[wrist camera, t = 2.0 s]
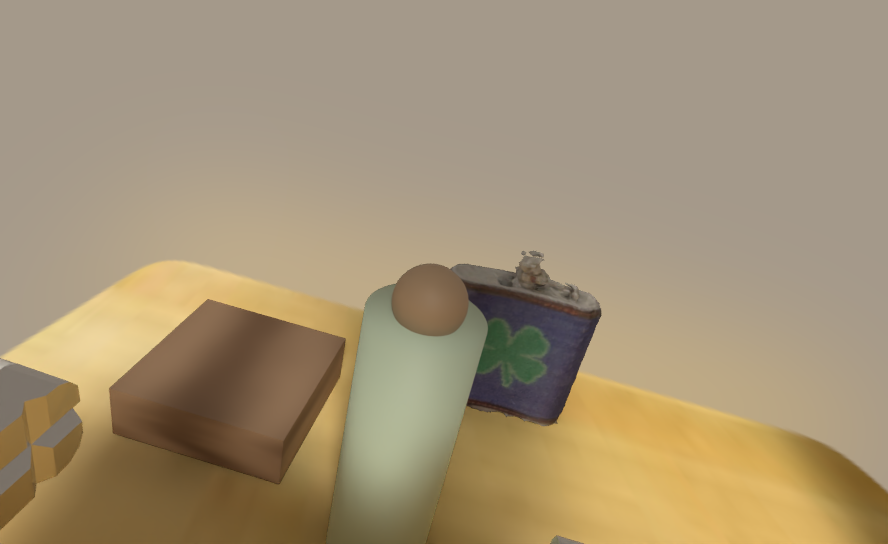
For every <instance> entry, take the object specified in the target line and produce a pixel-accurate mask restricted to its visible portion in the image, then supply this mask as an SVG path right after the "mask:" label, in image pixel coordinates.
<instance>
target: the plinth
mask: <svg viewBox="0 0 888 544" xmlns="http://www.w3.org/2000/svg"><path fill="white" fill-rule="evenodd" d="M345 340H346V339H345V338H342V337H338V336H335V335H331V334H328V333H324V332H321V331H317V330H314V329H310V328H307V327H303V326H300V325H296V324H293V323H289V322H286V321H282V320H279V319H276V318H272V317H269V316H265V315H262V314H258V313H255V312H251V311H248V310H244V309H241V308H237V307H234V306H230V305H227V304H223V303H220V302H216V301H213V300H209V299H207V300H206V301H205V302H204V303H203V304H202V305H201V306H200V307H199V308H197V309H196V310H195V311H194V312H193V313H192V314H191V315H190V316H189V317H187V318H186V319H185V320H184V321H183V322H182V323H181V324H180V325H179V326H178V327H176V328H175V329H174V330H173V331H172V332H171V333H170V334H169V335H168V336H166V337H165V338H164V339H163V340H162V341H161V342H160V343H159V344H158V345H157V346H155V347H154V348H153V349H152V350H151V351H150V352H149V353H148V354H147V355H145V356H144V357H143V358H142V359H141V360H140V361H139V362H138V363H137V364H135V365H134V366H133V367H132V368H131V369H130V370H129V371H128V372H127V373H126V374H124V375H123V376H122V377H121V378H120V379H119V380H118V381H117V382H116V383H114V384H113V385H112V386H111V387H110V388H109V392H110V404H111V415H112V427H113V433H114V434H117V435H121V436H124V437H127V438H131V439H134V440H137V441H140V442H144V443H147V444H150V445H153V446H157V447H160V448H163V449H166V450H170V451H173V452H176V453H179V454H183V455H186V456H189V457H192V458H196V459H199V460H202V461H205V462H209V463H212V464H215V465H218V466H222V467H225V468H228V469H232V470H235V471H238V472H241V473H245V474H248V475H251V476H254V477H258V478H261V479H264V480H267V481H271V482H274V483H277V484H279V483H280V482H281V480H282V478H283V476H284V475H285V473H286V471H287V469H288V467H289V466H290V464H291V462H292V460H293V459H294V457H295V455H296V453H297V452H298V450H299V448H300V446H301V445H302V443H303V441H304V439H305V437H306V436H307V434H308V432H309V430H310V429H311V427H312V425H313V423H314V422H315V420H316V418H317V416H318V415H319V413H320V411H321V409H322V407H323V406H324V404H325V402H326V400H327V399H328V397H329V395H330V393H331V392H332V390H333V388H334V386H335V385H336V383H337V381H338V379H339V377H340V373H341V367H342V360H343V354H344V347H345Z"/></svg>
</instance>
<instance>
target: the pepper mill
mask: <svg viewBox="0 0 888 544" xmlns="http://www.w3.org/2000/svg"><path fill="white" fill-rule="evenodd" d="M487 332H488V325H487V321H486V319H485V317H484V315H483V314H482V312H481V311H480V310H479V309H478V308H477V307H476V306H475V305H474V304H473V303H472V302H470V301H469V299H468V293H467V290H466V287H465V285H464V283H463V281H462V280H461V279H460V277H459V276H458V275H457V274H456V273H455V272H453V271H452V270H450V269H449V268H447V267H444V266H442V265H438V264H423V265H419V266H416V267H414V268H412V269H410V270H408V271H407V272H406V273H405V274H403V275H402V277H401V278H400V279H399V280H398V282H397V283H396V284H393V285H388V286H385V287H383V288H381V289H378V290H377V291H375V292H374V293H373V294H372V295H370V297H369V298H368V299H367V301H366V304H365V309H364V315H363V321H362V327H361V333H360V339H359V345H358V351H357V357H356V362H355V368H354V374H353V380H352V386H351V392H350V398H349V404H348V410H347V416H346V422H345V428H344V434H343V440H342V446H341V452H340V458H339V464H338V470H337V476H336V482H335V488H334V494H333V500H332V506H331V512H330V518H329V524H328V530H327V536H326V544H426V541H427V538H428V534H429V531H430V527H431V524H432V521H433V517H434V514H435V510H436V507H437V504H438V500H439V497H440V493H441V490H442V486H443V483H444V480H445V476H446V473H447V469H448V466H449V463H450V459H451V456H452V452H453V449H454V445H455V442H456V439H457V435H458V432H459V428H460V425H461V421H462V418H463V415H464V411H465V408H466V404H467V401H468V398H469V394H470V391H471V387H472V384H473V380H474V377H475V374H476V370H477V367H478V363H479V360H480V357H481V353H482V350H483V346H484V343H485V339H486V336H487Z"/></svg>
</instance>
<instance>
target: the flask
mask: <svg viewBox="0 0 888 544" xmlns="http://www.w3.org/2000/svg"><path fill="white" fill-rule="evenodd" d="M529 253H530V254H531V255H532V256H539V257H543V256H544V255H543V254H542V253H540V252H536V251H530V252H529ZM521 254H522V255H525V254H526V252H525V251H522V253H521ZM543 260H544V259H542V258H535V257H528V256H524V257H523V260H522V261H521V262H519V265H520V266H519V267H516V273H514V272H509V271H504V270H499V269H493V268H487V267H481V266H475V265H469V264H458V265H456V266H454V267H452V268H451V269H450V270H452V271H453V272H455V273H456V274H457V275H458V276H459V277H460V279H461V280H462V281H463V283H464V285H465V287H466V290H467V293H468V299H469V301H470V302H472V303H473V304H474V305H475V306H476V307H477V308H478V309H479V310H480V311H481V312H482V314H483V315H484V317H485V319H486V321H487V325H488V332H487V336H486V339H485V343H484V346H483V350H482V353H481V357H480V360H479V363H478V367H477V370H476V374H475V377H474V380H473V384H472V387H471V391H470V394H469V398H468V401H467V404H466V406H470V407H471V408H474V409H478V410H479V411H485V412H491V411H492V412H494V411H499V412H502V413H504V414H505V416H506V417H507V416H516V417H519V418H521V419H523V420H524V421H532V422H534V423H537V424H539V425H541V426H548V425H551V424H554V423H557V422H556V420H557V419H558V417H559V415H560V414H561V412H562V410H563V408H564V406H565V403H566V400H567V398H568V396H569V393H570V390H571V387H572V385H573V383H574V381H575V379H576V375H577V373H578V370H579V367H580V365H581V362H582V360H583V358H584V356H585V353H586V350H587V347H588V345H589V343H590V341H591V338H592V336H593V333H594V330H595V327H596V325H597V323H598V322H599V319H600V317H601V308H600V306H599V303H598V302H597V300H596V299H595V297H594V296H592V295H591V294H590V293H586V292H583V291H580V290H578V287H577V286H574V285H571V284H567V283H565V284H566V285H568V286H570V287H571V288H570V287H567V286H564V285H562V284H560V283H558V282H555V281H553V280H550V277H549V275H548V274H547V273H546V272H545V271H544V270H543V269H540V265H539V264H540V262H541V261H543Z"/></svg>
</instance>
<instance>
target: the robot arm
mask: <svg viewBox="0 0 888 544" xmlns="http://www.w3.org/2000/svg"><path fill="white" fill-rule="evenodd" d="M79 402H80V396H79V390H78V385H75V384H73V383H71V382H68V381H66V380H63V379H60V378H57V377H54V376H51V375H48V374H45V373H43V372H40V371H37V370H34V369H31V368H28V367H25V366H22V365H20V364H16V363H13V362H10V361H7V360H4V359H1V358H0V530H1V529H2V528H3V527H4V526H5V525H6V524H7V523H8V522H9V521H10V520H11V519H12V518H13V517H14V516H15V515H16V514H18V513H19V512H20V511H21V510H22V509H23V508H24V507H25V506H26V505H27V504H28V503H29V502H30V501H31V500H32V499H33V498H34V497H35V491H36V484H37V483H39V482H42V481H45V480H47V479H50V478H52V477H55V476H57V475H58V474H59V473H60V472H61V471H62V470H63V469H64V468H65V467H66V466H67V465H68V464H69V463H70V461H71V459H72V458H73V456H74V454H75V453H76V451H77V449H78V448H79V446H80V442H81V438H82V434H83V428H82V420H81V419H80V418H79V416H78V415H77V414H76V412H75V411H74V409H73V407H74V406H75V405H77V404H78V403H79ZM550 544H583V543H580V542H577V541H574V540H570V539H567V538H564V537H560V536H557V535H556V536H555V537H554V538H553V539H552V541H551V543H550Z"/></svg>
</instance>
